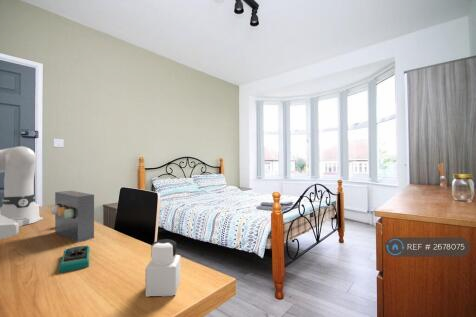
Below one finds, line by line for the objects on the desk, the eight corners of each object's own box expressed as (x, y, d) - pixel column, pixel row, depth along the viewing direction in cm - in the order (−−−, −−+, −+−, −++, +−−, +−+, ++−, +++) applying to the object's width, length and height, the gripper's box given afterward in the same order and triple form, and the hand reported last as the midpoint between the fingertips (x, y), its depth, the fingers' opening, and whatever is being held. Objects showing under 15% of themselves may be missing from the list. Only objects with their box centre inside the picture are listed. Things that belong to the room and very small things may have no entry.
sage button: (63, 218, 93) (63, 209, 93) (70, 216, 95) (70, 207, 95) (67, 219, 91) (67, 210, 91) (74, 218, 93) (74, 209, 93)
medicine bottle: (153, 282, 62) (153, 237, 62) (180, 280, 63) (180, 236, 63) (145, 297, 55) (145, 247, 55) (175, 296, 56) (175, 246, 56)
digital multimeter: (89, 251, 83) (89, 243, 83) (88, 268, 71) (88, 259, 71) (64, 256, 79) (64, 247, 79) (58, 275, 67) (58, 264, 67)
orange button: (57, 215, 97) (57, 207, 97) (64, 214, 99) (64, 206, 99) (60, 217, 95) (60, 208, 95) (67, 215, 97) (67, 207, 97)
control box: (55, 232, 104) (55, 192, 104) (70, 229, 109) (70, 190, 109) (77, 242, 92) (77, 196, 92) (94, 237, 97) (94, 194, 97)
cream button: (51, 213, 100) (51, 205, 100) (57, 212, 102) (57, 204, 102) (54, 214, 98) (54, 206, 98) (61, 213, 100) (61, 205, 100)
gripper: (-38, 234, 76) (18, 224, 88) (-24, 248, 65) (38, 234, 77) (-38, 215, 76) (18, 208, 88) (-24, 225, 65) (38, 215, 77)
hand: (28, 220), depth 82 cm, fingers closed
